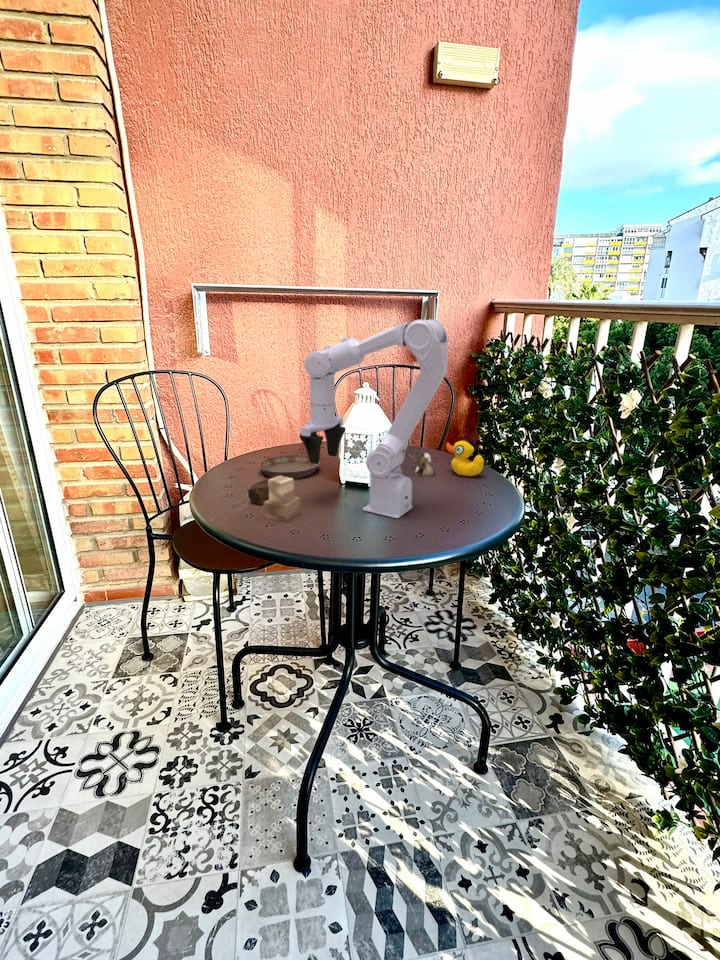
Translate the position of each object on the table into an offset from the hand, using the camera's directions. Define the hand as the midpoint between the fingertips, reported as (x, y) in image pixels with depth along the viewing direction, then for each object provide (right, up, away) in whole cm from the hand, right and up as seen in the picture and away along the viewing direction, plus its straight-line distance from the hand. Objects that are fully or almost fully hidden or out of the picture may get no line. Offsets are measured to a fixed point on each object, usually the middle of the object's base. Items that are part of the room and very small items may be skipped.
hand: (323, 459), depth 119 cm
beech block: (-9, -10, -8) cm, 15 cm away
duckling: (+39, -4, +22) cm, 45 cm away
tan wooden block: (-9, -13, -7) cm, 17 cm away
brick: (-14, -10, +4) cm, 18 cm away
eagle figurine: (+27, -3, +25) cm, 37 cm away
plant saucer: (-12, -3, +25) cm, 28 cm away
